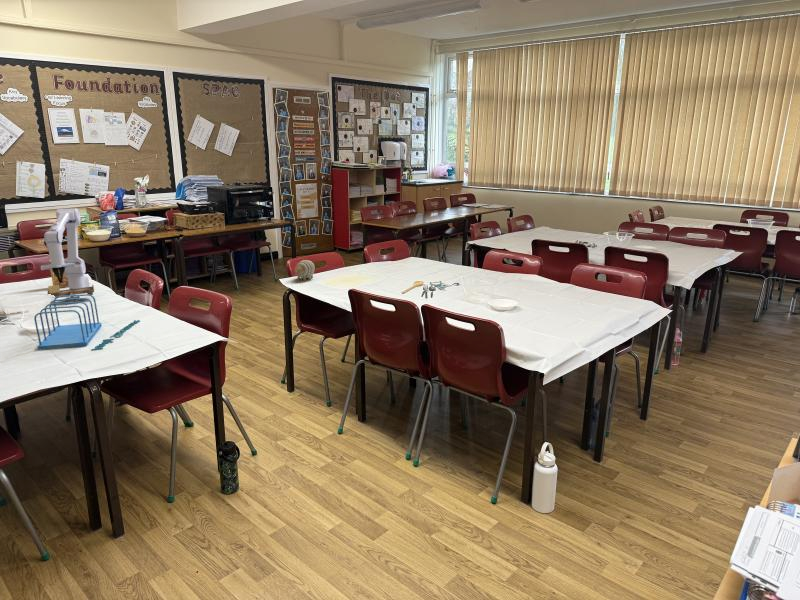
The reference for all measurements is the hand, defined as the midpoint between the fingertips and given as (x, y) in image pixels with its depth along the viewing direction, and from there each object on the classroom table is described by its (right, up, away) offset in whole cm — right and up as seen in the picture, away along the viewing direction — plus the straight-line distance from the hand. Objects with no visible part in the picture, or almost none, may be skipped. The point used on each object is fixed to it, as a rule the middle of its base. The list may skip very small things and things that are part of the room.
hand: (60, 282), depth 279 cm
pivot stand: (+3, -9, +5) cm, 11 cm away
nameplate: (+50, -24, -43) cm, 70 cm away
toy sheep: (+113, +4, +52) cm, 125 cm away
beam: (+3, -7, +4) cm, 9 cm away
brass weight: (-3, -5, 0) cm, 6 cm away
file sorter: (+33, -25, -46) cm, 62 cm away
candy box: (-18, -2, +31) cm, 36 cm away
